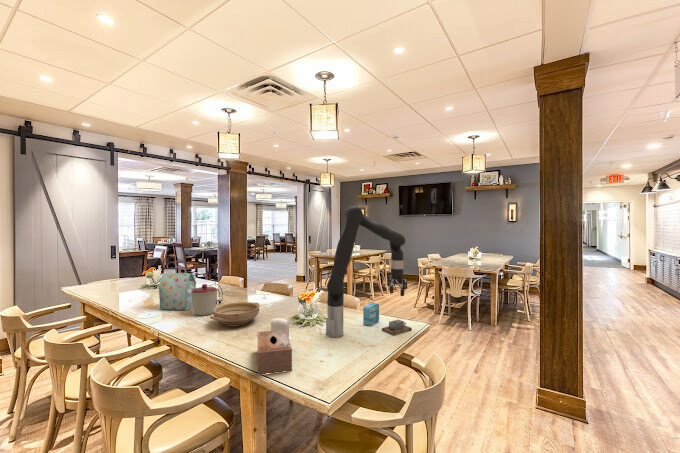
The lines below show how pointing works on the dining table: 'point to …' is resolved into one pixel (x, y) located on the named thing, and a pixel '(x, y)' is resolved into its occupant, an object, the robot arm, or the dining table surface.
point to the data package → (371, 314)
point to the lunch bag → (176, 291)
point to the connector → (396, 325)
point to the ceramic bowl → (235, 313)
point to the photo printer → (280, 324)
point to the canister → (204, 300)
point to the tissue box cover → (274, 352)
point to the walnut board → (396, 332)
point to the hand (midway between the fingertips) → (396, 294)
